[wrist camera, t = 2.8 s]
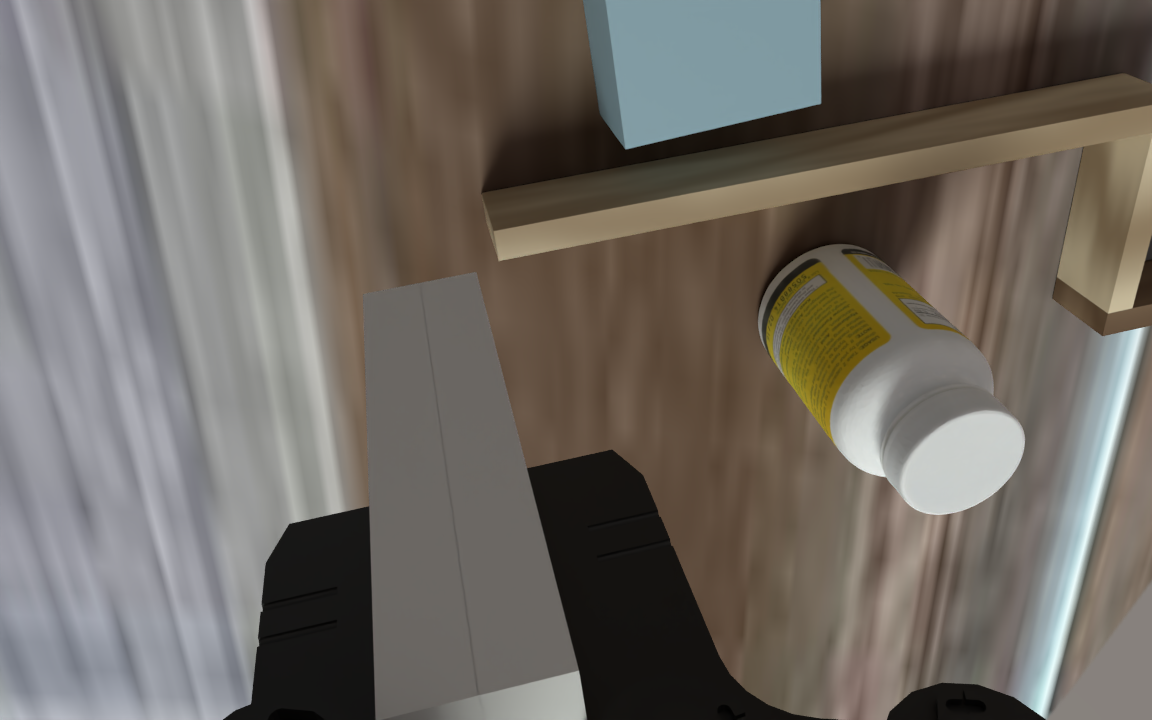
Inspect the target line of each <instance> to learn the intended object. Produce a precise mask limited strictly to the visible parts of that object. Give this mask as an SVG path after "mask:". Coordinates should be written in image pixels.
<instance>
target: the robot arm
mask: <svg viewBox="0 0 1152 720" xmlns="http://www.w3.org/2000/svg"><path fill="white" fill-rule="evenodd" d="M363 309H364V343H365V377H366V411H367V445H368V478H369V507H364V508H360V509H355V510H351V511H346V512H342V513H337V514H332V515H328V516H323V517H319V518H314V519H310V520H305V521H301V522H296V523H292V524H289V525H288V527H287V529H286V530H285V532H284V534H283V535H282V537H281V539H280V540H279V542H278V544H277V545H276V547H275V549H274V550H273V552H272V554H271V555H270V557H269V559H268V560H267V562H266V566H265V576H264V586H263V595H262V607H263V612H261V615H260V624H259V634H258V639H259V647H257V653H256V663H255V672H254V682H253V692H252V701H251V704H250V705H248V706H245V707H243V708H240V709H238V710H236V711H234V712H233V713H231V714H230V715H229V716H227V717H226V718H225V719H223V720H836V719H819V718H813V717H807V716H801V715H794V714H791V713H788V712H786V711H783V710H780V709H778V708H775V707H772V706H770V705H768V704H766V703H764V702H763V701H761V700H760V699H758V698H757V697H755V696H753V695H752V694H750V693H749V692H747V691H746V690H745V689H744V688H743V687H742V686H741V685H740V684H739V683H738V682H737V681H736V680H735V679H734V678H733V677H732V676H731V675H730V674H729V672H728V670H727V668H726V667H725V665H724V663H723V662H722V660H721V658H720V657H719V655H718V652H717V650H716V647H715V645H714V643H713V640H712V638H711V636H710V633H709V631H708V628H707V626H706V624H705V621H704V619H703V617H702V614H701V612H700V609H699V607H698V605H697V602H696V600H695V598H694V595H693V593H692V590H691V588H690V586H689V583H688V581H687V579H686V576H685V574H684V571H683V569H682V567H681V564H680V562H679V560H678V557H677V555H676V552H675V550H674V548H673V546H671V543H670V538H669V536H668V533H667V531H666V529H665V526H664V524H663V522H662V519H661V517H659V515H658V510H657V507H656V505H655V502H654V500H653V498H652V495H651V493H650V491H649V488H648V486H647V483H646V481H645V479H644V476H643V475H642V474H641V473H640V472H639V471H637V470H636V469H635V468H634V467H633V466H631V465H630V464H629V463H628V462H627V461H625V460H624V459H623V458H622V457H621V456H619V455H618V454H617V453H616V452H614V451H613V450H608V451H604V452H599V453H595V454H590V455H586V456H581V457H577V458H572V459H568V460H563V461H559V462H554V463H549V464H545V465H540V466H536V467H531V468H527V467H526V463H525V459H524V456H523V452H522V448H521V444H520V440H519V436H518V432H517V428H516V425H515V421H514V417H513V413H512V409H511V405H510V401H509V397H508V394H507V390H506V386H505V382H504V378H503V374H502V370H501V366H500V362H499V359H498V355H497V351H496V347H495V343H494V339H493V335H492V331H491V328H490V324H489V320H488V316H487V312H486V308H485V304H484V300H483V297H482V293H481V289H480V285H479V281H478V277H477V273H476V272H474V273H469V274H464V275H459V276H454V277H449V278H443V279H438V280H433V281H428V282H423V283H418V284H413V285H408V286H402V287H397V288H392V289H387V290H382V291H377V292H372V293H367V294H363ZM887 720H1046V719H1044V718H1043V717H1041V716H1040V715H1038V714H1037V713H1036V712H1034V711H1033V710H1031V709H1030V708H1028V707H1027V706H1026V705H1024V704H1023V703H1021V702H1020V701H1018V700H1017V699H1016V698H1014V697H1011V696H1009V695H1006V694H1003V693H1000V692H997V691H994V690H991V689H989V688H986V687H983V686H980V685H975V684H955V683H940V684H937V685H933V686H930V687H927V688H923V689H920V690H917V691H914V692H911V693H910V694H909V695H908V696H907V697H906V698H904V699H903V700H902V701H901V702H900V703H899V704H898V705H897V706H895V707H894V708H893V709H892V710H891V711H890V713H889V715H888V718H887Z"/></svg>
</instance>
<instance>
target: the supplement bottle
mask: <svg viewBox="0 0 1152 720" xmlns="http://www.w3.org/2000/svg"><path fill="white" fill-rule="evenodd" d="M758 328H759V333H760V337H761V340H762V343H763V345H764V347H765V349H766V350H767V352H768V354H769V356H770V357H771V359H772V360H773V361H774V363H775V364H776V365H777V367H778V368H779V369H780V371H781V372H782V374H783V375H784V376H785V378H786V379H787V380H788V382H789V383H790V384H791V386H792V387H793V388H794V390H795V391H796V393H797V394H798V395H799V397H800V398H801V399H802V401H803V402H804V403H805V405H806V406H807V408H808V409H809V410H810V412H811V413H812V414H813V416H814V417H815V418H816V420H817V421H818V423H819V424H820V425H821V427H822V428H823V429H824V431H825V432H826V433H827V435H828V436H829V437H830V439H831V440H832V441H833V443H834V444H835V445H836V447H837V448H838V449H839V451H840V452H841V453H842V454H843V455H844V456H845V457H846V458H847V459H848V460H849V461H850V462H851V463H852V464H853V465H855V466H856V467H858V468H859V469H861V470H863V471H865V472H867V473H870V474H873V475H877V476H882V477H887V479H888V481H889V482H890V483H891V484H892V485H893V486H894V487H895V489H896V490H897V491H898V492H899V494H900V495H901V496H902V497H903V499H904V500H905V501H906V502H907V503H908V504H909V505H910V506H911V507H913V508H914V509H916V510H918V511H921V512H923V513H927V514H935V515H942V514H950V513H955V512H959V511H962V510H965V509H968V508H970V507H973V506H975V505H976V504H978V503H980V502H982V501H984V500H985V499H987V498H988V497H990V496H991V495H993V494H994V493H995V492H996V491H997V490H998V489H1000V488H1001V487H1002V486H1003V485H1004V484H1005V483H1006V481H1007V480H1008V479H1009V478H1010V477H1011V476H1012V474H1013V473H1014V471H1015V470H1016V468H1017V466H1018V465H1019V462H1020V460H1021V458H1022V454H1023V451H1024V445H1025V436H1024V431H1023V428H1022V426H1021V424H1020V423H1019V421H1018V420H1017V419H1016V417H1015V416H1014V415H1013V414H1012V413H1011V412H1010V411H1009V410H1008V409H1007V408H1006V407H1005V406H1004V405H1003V404H1002V403H1001V402H1000V401H999V400H998V399H997V398H996V397H995V396H993V392H994V385H993V376H992V372H991V369H990V366H989V364H988V362H987V360H986V358H985V357H984V355H983V354H982V353H981V352H980V351H979V350H978V348H977V347H976V346H975V345H974V344H973V343H972V342H971V341H970V340H969V339H968V338H967V337H965V336H964V334H962V333H961V332H960V331H959V330H958V329H957V328H956V327H955V326H953V325H952V324H951V323H950V322H949V321H948V320H947V319H946V318H945V317H944V316H943V315H941V314H940V313H939V312H938V311H937V310H936V309H935V308H934V307H933V306H931V305H930V304H929V303H928V302H927V301H926V300H925V299H924V298H923V297H922V296H920V295H919V294H918V293H917V292H916V291H915V290H914V289H913V288H912V287H911V286H910V285H909V284H907V283H906V282H905V281H904V280H903V279H902V278H901V277H900V276H899V275H898V274H897V273H896V272H894V271H893V270H892V269H891V268H890V267H889V266H888V265H887V264H885V262H883V261H882V260H881V259H880V258H879V257H877V256H876V255H874V254H873V253H872V252H870V251H868V250H866V249H864V248H861V247H859V246H855V245H849V244H833V245H827V246H823V247H819V248H816V249H813V250H811V251H809V252H807V253H805V254H803V255H801V256H799V257H798V258H796V259H795V260H793V261H792V262H791V263H789V264H788V265H787V266H786V267H784V268H783V269H782V270H781V271H780V272H779V273H778V274H777V276H776V277H775V278H774V279H773V281H772V282H771V283H770V285H769V286H768V288H767V290H766V292H765V294H764V297H763V299H762V302H761V305H760V309H759V314H758Z"/></svg>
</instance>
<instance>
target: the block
mask: <svg viewBox="0 0 1152 720" xmlns="http://www.w3.org/2000/svg"><path fill="white" fill-rule="evenodd" d="M583 3H584V10H585V17H586V24H587V30H588V37H589V44H590V51H591V58H592V64H593V71H594V78H595V85H596V91H597V98H598V105H599V112H600V115H601V117H602V118H603V119H604V121H605V122H606V124H607V125H608V126H609V128H610V129H611V130H612V132H613V133H614V134H615V136H616V137H617V138H618V140H619V141H620V143H621V144H622V145H623V147H624V148H625V149H630V148H634V147H638V146H642V145H647V144H651V143H655V142H660V141H664V140H668V139H672V138H677V137H681V136H685V135H689V134H694V133H698V132H702V131H707V130H711V129H715V128H719V127H724V126H728V125H732V124H737V123H741V122H745V121H749V120H754V119H758V118H762V117H766V116H771V115H775V114H779V113H784V112H788V111H792V110H796V109H801V108H805V107H809V106H813V105H818V104H821V13H820V0H583Z"/></svg>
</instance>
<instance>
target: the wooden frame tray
mask: <svg viewBox="0 0 1152 720" xmlns="http://www.w3.org/2000/svg"><path fill="white" fill-rule="evenodd" d="M1079 147H1084V148H1083V153H1082V158H1081V163H1080V168H1079V172H1078V177H1077V182H1076V187H1075V192H1074V197H1073V201H1072V206H1071V211H1070V216H1069V221H1068V226H1067V231H1066V235H1065V240H1064V245H1063V250H1062V255H1061V260H1060V264H1059V269H1058V274H1057V279H1056V284H1055V289H1054V293H1053V298H1052V299H1054V300H1055V301H1056V302H1058V303H1059V304H1060V305H1062V306H1063V307H1064V308H1066V309H1067V310H1068V311H1070V312H1071V313H1072V314H1074V315H1075V316H1076V317H1078V318H1079V319H1080V320H1082V321H1083V322H1084V323H1086V324H1087V325H1088V326H1090V327H1091V328H1092V329H1094V330H1095V331H1096V332H1098V333H1099V334H1100V335H1102V336H1106V335H1110V334H1115V333H1119V332H1124V331H1128V330H1133V329H1137V328H1142V327H1146V326H1151V325H1152V84H1151V83H1148V82H1146V81H1143V80H1140V79H1138V78H1135V77H1133V76H1130V75H1128V74H1125V73H1121V74H1116V75H1110V76H1105V77H1100V78H1094V79H1089V80H1084V81H1078V82H1073V83H1068V84H1062V85H1057V86H1051V87H1046V88H1041V89H1035V90H1030V91H1025V92H1019V93H1014V94H1009V95H1003V96H998V97H993V98H987V99H982V100H976V101H971V102H966V103H960V104H955V105H950V106H944V107H939V108H934V109H928V110H923V111H918V112H912V113H907V114H902V115H896V116H891V117H885V118H880V119H875V120H869V121H864V122H859V123H853V124H848V125H843V126H837V127H832V128H827V129H821V130H816V131H810V132H805V133H800V134H794V135H789V136H784V137H778V138H773V139H768V140H762V141H757V142H752V143H746V144H741V145H736V146H730V147H725V148H719V149H714V150H709V151H703V152H698V153H693V154H687V155H682V156H677V157H671V158H666V159H661V160H655V161H650V162H644V163H639V164H634V165H628V166H623V167H618V168H612V169H607V170H602V171H596V172H591V173H586V174H580V175H575V176H570V177H564V178H559V179H553V180H548V181H543V182H537V183H532V184H527V185H521V186H516V187H511V188H505V189H500V190H495V191H489V192H484V193H481V194H482V200H483V205H484V211H485V216H486V222H487V225H488V228H489V231H490V234H491V237H492V241H493V244H494V247H495V250H496V253H497V257H498V260H499V261H501V260H506V259H511V258H516V257H522V256H527V255H532V254H537V253H542V252H547V251H552V250H557V249H562V248H568V247H573V246H578V245H583V244H588V243H593V242H598V241H603V240H608V239H614V238H619V237H624V236H629V235H634V234H639V233H644V232H649V231H654V230H660V229H665V228H670V227H675V226H680V225H685V224H690V223H695V222H700V221H706V220H711V219H716V218H721V217H726V216H731V215H736V214H741V213H746V212H752V211H757V210H762V209H767V208H772V207H777V206H782V205H787V204H792V203H798V202H803V201H808V200H813V199H818V198H823V197H828V196H833V195H839V194H844V193H849V192H854V191H859V190H864V189H869V188H874V187H879V186H885V185H890V184H895V183H900V182H905V181H910V180H915V179H920V178H925V177H931V176H936V175H941V174H946V173H951V172H956V171H961V170H966V169H971V168H977V167H982V166H987V165H992V164H997V163H1002V162H1007V161H1012V160H1017V159H1023V158H1028V157H1033V156H1038V155H1043V154H1048V153H1053V152H1058V151H1063V150H1069V149H1074V148H1079Z"/></svg>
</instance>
